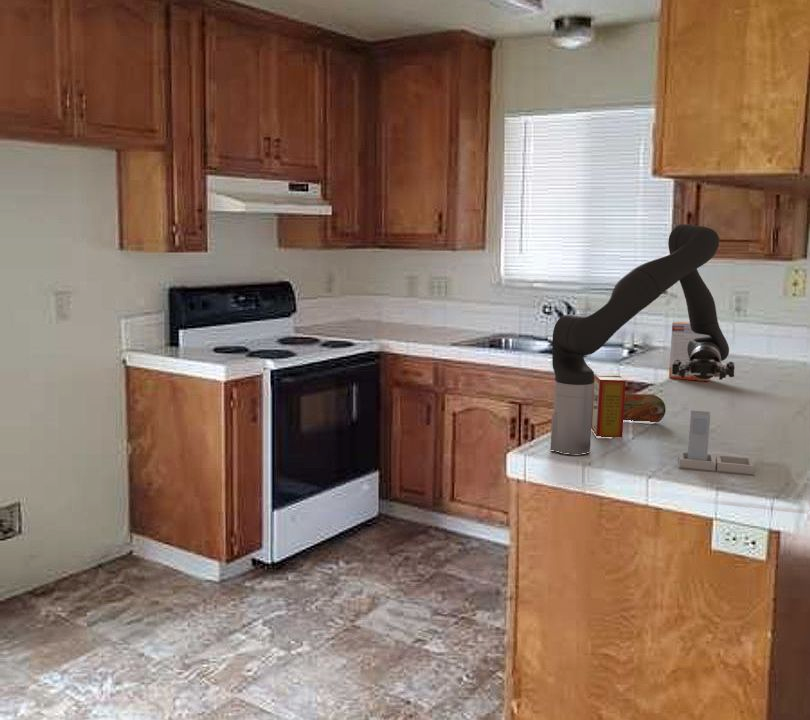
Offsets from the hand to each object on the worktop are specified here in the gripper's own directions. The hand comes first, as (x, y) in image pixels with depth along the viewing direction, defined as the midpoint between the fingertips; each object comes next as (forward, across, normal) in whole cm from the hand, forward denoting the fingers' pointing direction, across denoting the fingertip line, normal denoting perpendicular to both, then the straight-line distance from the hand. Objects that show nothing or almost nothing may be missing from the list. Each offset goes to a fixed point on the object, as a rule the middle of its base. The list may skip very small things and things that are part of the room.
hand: (701, 374), depth 206 cm
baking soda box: (-13, -24, +21) cm, 34 cm away
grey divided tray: (+12, +4, +20) cm, 23 cm away
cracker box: (-118, -9, +27) cm, 121 cm away
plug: (+12, 0, +18) cm, 22 cm away
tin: (-32, -18, +22) cm, 43 cm away
